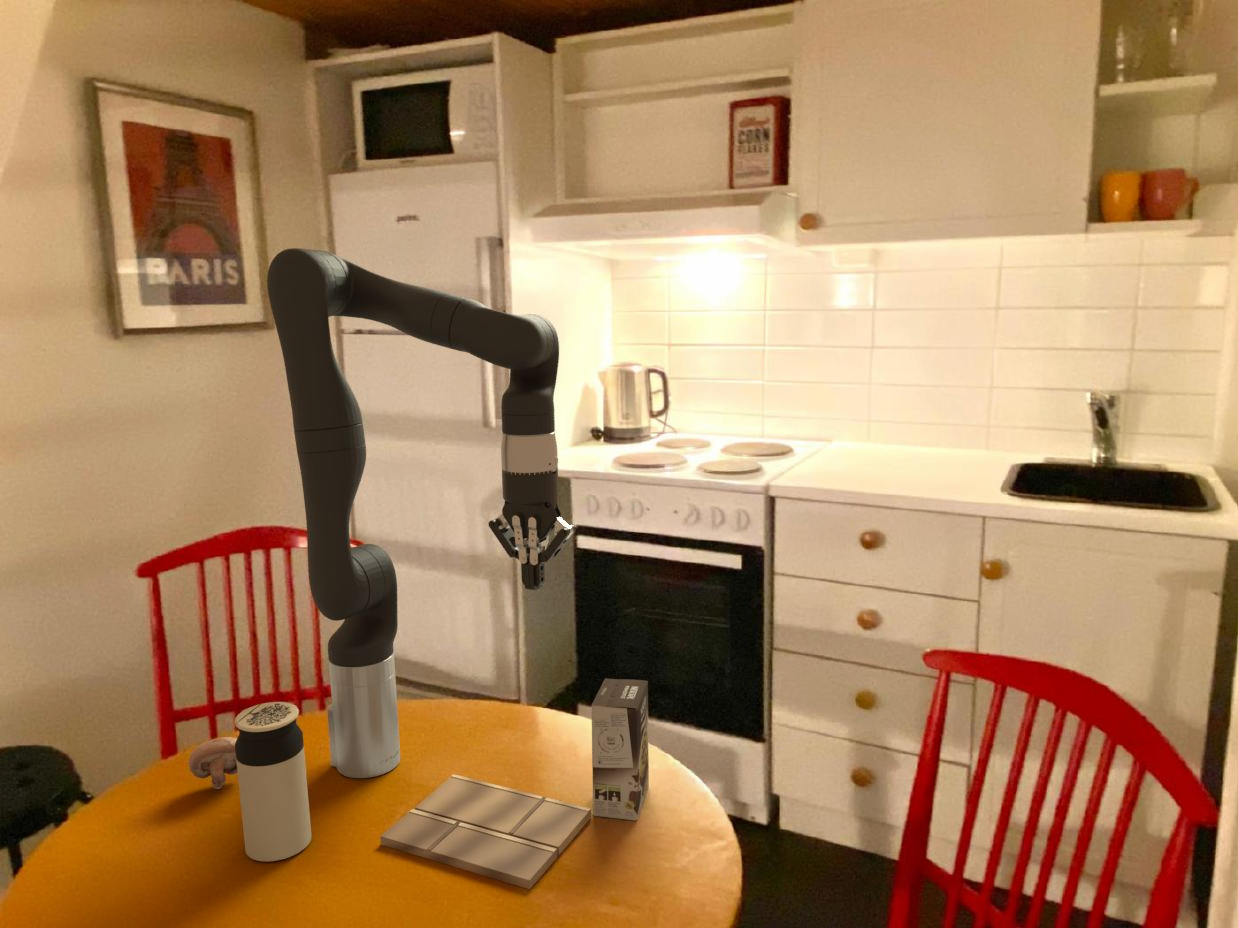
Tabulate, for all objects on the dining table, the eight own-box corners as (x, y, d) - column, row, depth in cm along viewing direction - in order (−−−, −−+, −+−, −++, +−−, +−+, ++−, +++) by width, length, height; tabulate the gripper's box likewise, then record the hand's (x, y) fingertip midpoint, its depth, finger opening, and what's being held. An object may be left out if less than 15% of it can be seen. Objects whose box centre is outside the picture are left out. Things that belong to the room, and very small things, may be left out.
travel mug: (324, 833, 120) (313, 705, 117) (284, 869, 113) (271, 733, 109) (274, 822, 123) (262, 696, 119) (231, 856, 115) (217, 724, 112)
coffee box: (639, 821, 122) (637, 708, 119) (591, 816, 123) (589, 704, 120) (650, 785, 130) (649, 679, 127) (606, 781, 132) (604, 675, 129)
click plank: (415, 815, 124) (414, 806, 124) (454, 781, 132) (453, 773, 132) (558, 855, 115) (558, 846, 114) (591, 816, 123) (590, 808, 122)
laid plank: (380, 844, 117) (380, 835, 117) (413, 817, 123) (412, 808, 123) (529, 889, 108) (529, 879, 108) (557, 857, 114) (556, 847, 114)
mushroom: (184, 799, 128) (178, 746, 127) (204, 776, 134) (199, 725, 133) (238, 799, 128) (233, 746, 127) (255, 776, 134) (250, 725, 133)
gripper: (472, 466, 123) (478, 590, 126) (559, 473, 117) (563, 603, 121) (502, 457, 129) (507, 574, 133) (586, 463, 124) (588, 586, 127)
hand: (533, 588), depth 127 cm, fingers closed
